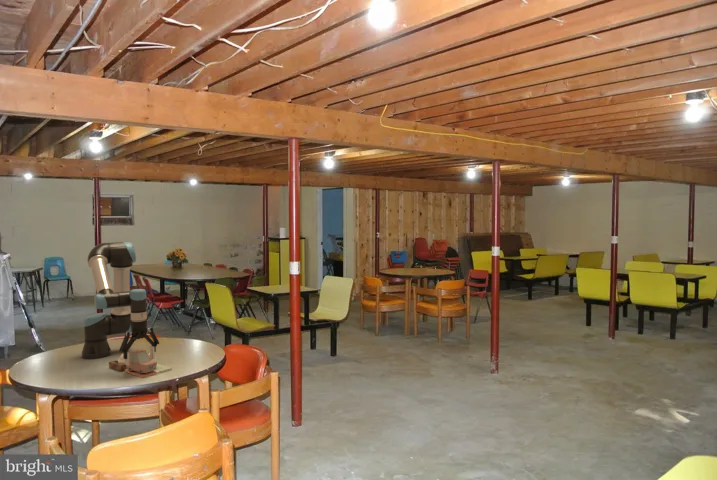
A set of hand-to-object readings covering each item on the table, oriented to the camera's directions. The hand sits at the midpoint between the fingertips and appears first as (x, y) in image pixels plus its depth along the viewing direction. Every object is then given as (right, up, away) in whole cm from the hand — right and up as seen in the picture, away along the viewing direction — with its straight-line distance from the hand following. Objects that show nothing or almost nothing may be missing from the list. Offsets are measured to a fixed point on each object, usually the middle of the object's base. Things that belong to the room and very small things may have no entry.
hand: (140, 361), depth 274 cm
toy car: (+1, -5, -1) cm, 5 cm away
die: (-5, -5, +20) cm, 21 cm away
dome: (-12, -4, +11) cm, 16 cm away
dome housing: (-12, -5, +11) cm, 17 cm away
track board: (+3, -5, +3) cm, 7 cm away
